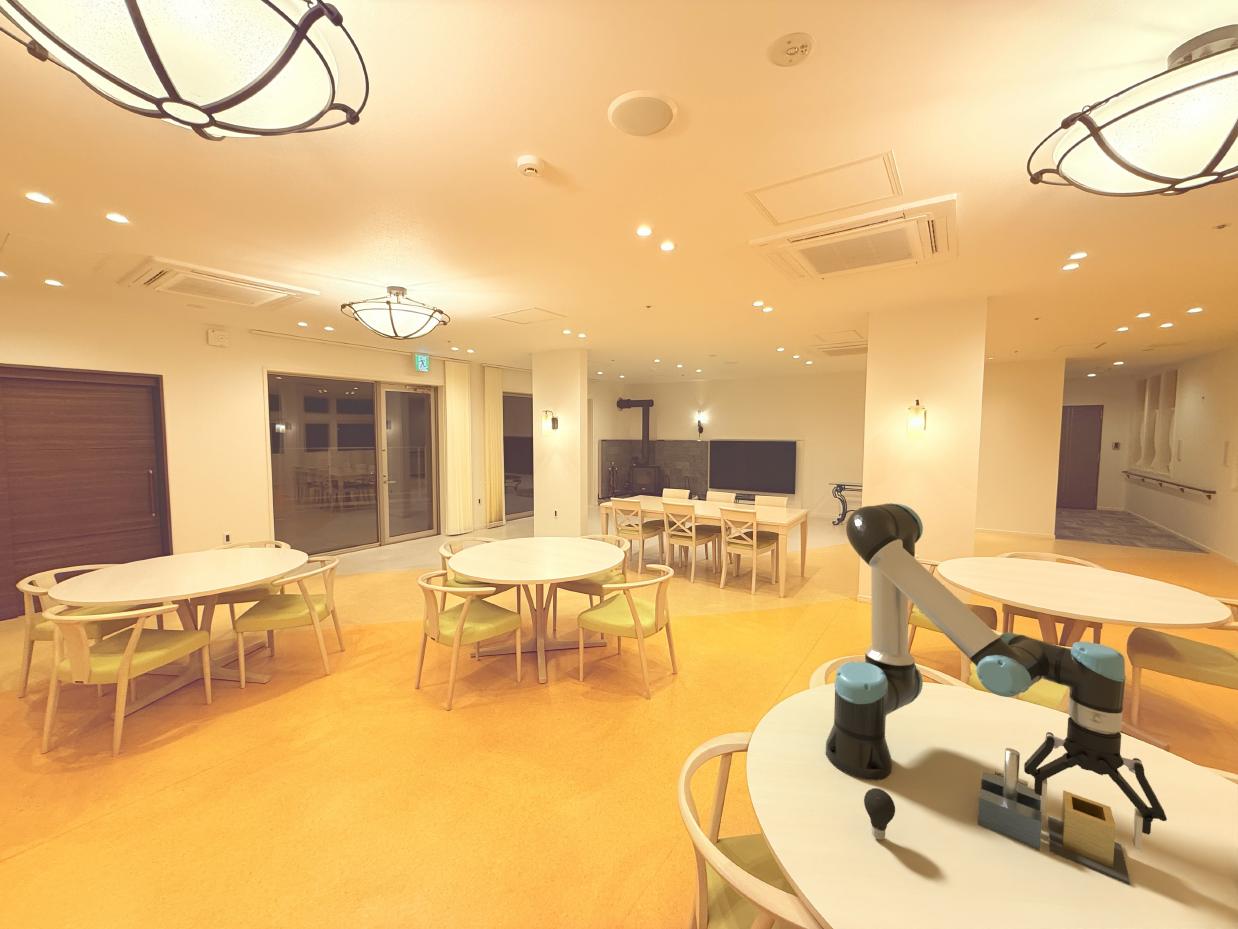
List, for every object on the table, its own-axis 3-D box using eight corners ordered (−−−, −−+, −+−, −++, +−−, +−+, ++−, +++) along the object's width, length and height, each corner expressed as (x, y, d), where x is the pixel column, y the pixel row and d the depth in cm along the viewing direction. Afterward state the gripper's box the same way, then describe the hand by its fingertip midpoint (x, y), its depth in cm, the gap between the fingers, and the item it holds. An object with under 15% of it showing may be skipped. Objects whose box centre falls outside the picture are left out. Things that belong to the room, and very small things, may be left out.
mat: (1049, 851, 96) (1050, 849, 96) (1048, 819, 104) (1048, 816, 104) (1129, 885, 89) (1130, 882, 89) (1120, 847, 97) (1121, 844, 97)
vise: (977, 824, 102) (981, 754, 102) (983, 779, 116) (986, 717, 115) (1040, 850, 96) (1044, 776, 95) (1038, 799, 110) (1042, 734, 109)
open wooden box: (1062, 848, 96) (1065, 809, 95) (1060, 826, 101) (1063, 790, 101) (1112, 868, 91) (1115, 828, 91) (1108, 845, 97) (1110, 807, 96)
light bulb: (893, 854, 95) (895, 805, 94) (861, 841, 98) (863, 794, 97) (894, 834, 99) (896, 788, 99) (864, 823, 102) (865, 778, 102)
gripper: (1012, 708, 100) (1007, 807, 101) (1195, 761, 84) (1187, 877, 85) (1013, 694, 106) (1008, 787, 107) (1184, 741, 90) (1177, 849, 91)
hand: (1087, 827), depth 96 cm, fingers open, 13 cm apart
